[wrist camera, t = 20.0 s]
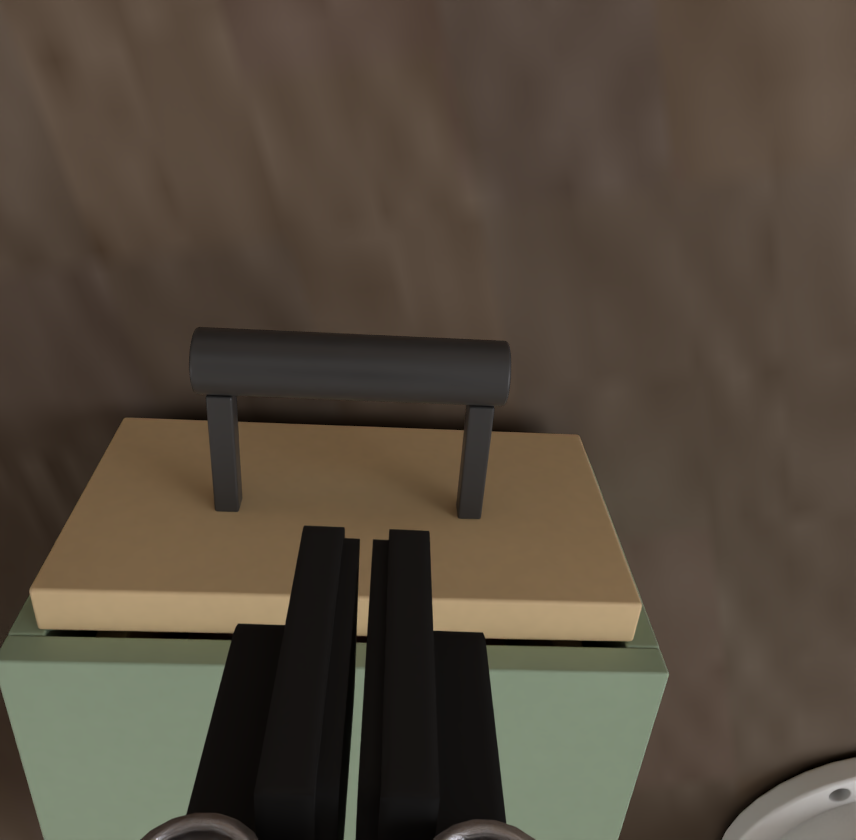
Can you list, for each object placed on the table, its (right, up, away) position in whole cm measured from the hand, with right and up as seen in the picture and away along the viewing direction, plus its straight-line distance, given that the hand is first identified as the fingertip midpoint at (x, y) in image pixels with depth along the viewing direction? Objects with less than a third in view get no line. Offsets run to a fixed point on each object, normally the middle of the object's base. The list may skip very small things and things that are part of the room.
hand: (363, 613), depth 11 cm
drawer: (-2, -2, +16) cm, 16 cm away
